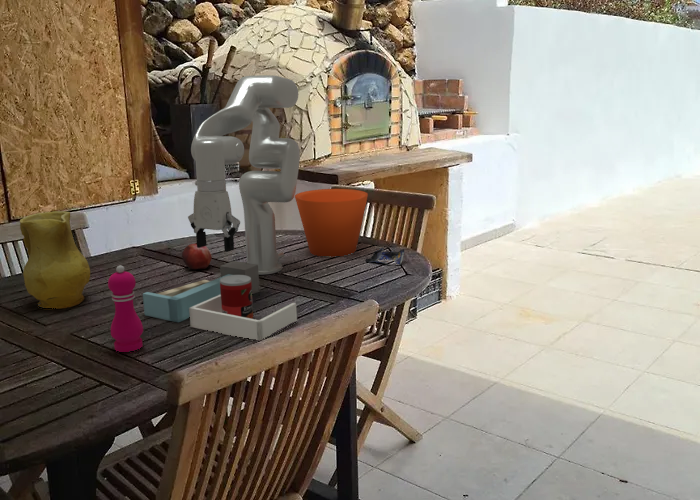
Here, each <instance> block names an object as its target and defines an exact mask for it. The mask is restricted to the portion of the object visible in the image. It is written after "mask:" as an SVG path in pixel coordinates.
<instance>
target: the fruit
mask: <svg viewBox="0 0 700 500" xmlns="http://www.w3.org/2000/svg"><path fill="white" fill-rule="evenodd" d="M181 257H182V261H183V262H184V265H186V266H187V267H188V271H191V270H204V269H207V268H208V267H209V266H210V264H211V262H212V257H213V256H212V253H211V251H210V249H209V248H208V247H207V245H206V246H204V247H201V248H197V242H195V243H191V244H187V246H186V247H184V249H183V251H182V253H181Z"/></svg>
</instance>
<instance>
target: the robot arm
mask: <svg viewBox="0 0 700 500" xmlns="http://www.w3.org/2000/svg"><path fill="white" fill-rule="evenodd" d="M298 99H299V89H298V86H297V84H296V83H295V81H293V80H292V79H290V78H287V77H283V76H279V75H271V74H269V75H267V74H266V75H246V76H243V77H240V78H239V79H238V80H237V82H236V84H235V86H234V88H233V91H232V92H231V94H230V96H229V98H228V101H227V103H226V105H225V106H224V107H223V108H222V109H220V110H218V111H217V112H215V113H214V114H212V115H210V116H209V117H208V118H207V119H205V120H204V121H203V122H202V123H201V124H200V125H199V127H198V129H197V130H196V132H195V134H194V137H193V138H192V139H193V140H192V142H191V144H190V145H191V147H190V152H191V157H192V159H193V160H194V161H195V174H196V175H195V176H196V181H195V182H194V184H195V186H196V187H197V188H196V189H197V190H195V193H194V196H193V197H194V198H193V213H191V214H190V215H188V216H187V219H188V221H189V224H190V227H191V228H192V229H193V232H194V234H195V238H196V243H197V248H201V247H204V246H206V247H207V233H206V231H205V230H211V231H212V230H213V231H221V232H222V233H223V234H224V235H225V236H224V237H223V247H224V249H223V250H224V252H226V253H227V252H231V251H234V249H235V243H234V241H235V240H234V236H236V233H237V232H238V231H239V228H240V225H241V221H240V219H238V218H237V217H235V216H234V215H233V214H232V206H231V200H230V195H229V192H228V191H227V185H226V184H227V183H226V181H227V180H226V166H225V165H234V164H237V163H239V162H240V161H242V159H243V157H244V155H245V147H244V143H243V141H242V140H241V139H240V138H238V137H236V136H228V134H231V133H232V134H233V133H235V132H239V131H241V130H243V129H245V128H248V127H249V126H250V125H251V124H252V128H251V129H252V130H251V137H250V145H249V151H248V161H249V164H250V165H251V166H252V167H254V168H257V169H266V170H250V171H247V172H245V173H243V174H242V175H241V176H240V178H239V182H238V186H239V187H238V189H239V192H240V197H241V202H242V207H243V217H244V218H243V219H244V237H245V252H246V263H250V264H257V265H258V273H259V275H260V276H263V275H265V276H266V275H272V274H276V273H278V272H281V271H282V270H283V264H282V263H280V262H279V260H281V259H283V258H285V253H284V252H283V251H280V252H277V250H278V249H277V235H276V232H277V230H276V215H275V213H274V210H273V208H272V206H271V205H270V203H280V204H282V203H290V202H291V201H292V200H293V199H294V198H295V195H296V192H297V185H298V177H299V170H300V169H299V168H300V162H301V161H300V159H301V158H300V157H301V154H300V153H301V152H300V147H299V144H298V143H297V141H296V140H295V139H292V138H288V137H287V138H285V137H280V130H281V125H280V122H279V120H278V118H277V117H276V116H275V114H274V113H273V112H272V110H271V109H272V108H273V109H274V108H275V109H277V108H280V109H286V108H287V109H288V108H289V109H290V108H292V107H294V106H296V104H297V102H298ZM270 108H271V109H270ZM225 135H227V136H225ZM267 169H268V170H267ZM271 169H273V170H278V171H273V170H271ZM279 170H280V171H279Z"/></svg>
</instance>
